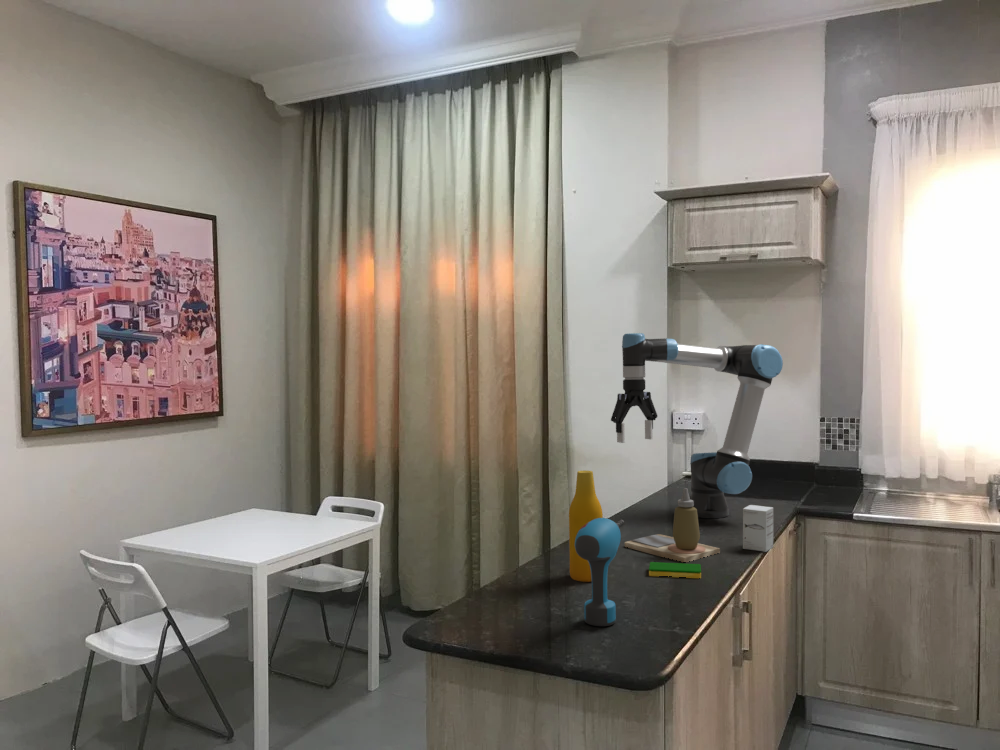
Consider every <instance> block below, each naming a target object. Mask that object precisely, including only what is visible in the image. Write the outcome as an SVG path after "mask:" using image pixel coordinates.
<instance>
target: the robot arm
mask: <svg viewBox="0 0 1000 750" xmlns="http://www.w3.org/2000/svg"><path fill="white" fill-rule="evenodd" d="M621 344H622V345H621V350H622V378H624V379H623V380H622V389H623V390H624V393H617V398H616V403H615V406H614V409H613V412H612V415H611V417H610V421H611V422H613V423H615V433H616V441H617V443H620V444H624V443H626V442H625V423H624V421H625V418H626V416H627V415H628V413H629V411H630V409H631V408H633V407H638V408H639V409H640V411H641V413H642V414H643V415H644V417H645V420H644V439H645V440H653V429H654V421H656V419H658V413H657V411H656V408H655V405H654V402H653V400H652V395H651V394H652V393H651V392H650V391H645V390H646V380H645V379H644V378H646V362H647V361H648V362H658V363H665V364H674V365H682V366H692V367H700V368H711V369H714V370H715V371H716V372H720V373H726V374H731V375H734V376H737V379H738V381H739V386H738V387H739V388H738V391H737V394H736V397H735V401H734V405H733V409H732V412H731V415H730V419H729V423H728V427H727V430H726V434H725V438H724V440H723V441H724V442H723V444H722V447H721V448H719V449H718V450H716V451H715V452H714V451H711V452H697V453H692V455H691V456H690V458H691V459H690V464H689V465H690V479H691V480H690V483H691V485H690V486H691V489H690V491H691V492H690V495H689V497H690V500H693V501H694V506H693V507H695V508H696V509H697V515H698V518H699V519H700V518H701V519H719V518H721V519H722V518H726V517H729V515H730V514H729V513H730V508H729V507H728V503H727V499H726V497H725V494H729V495H730V494H731V495H738V494H741V493H743V492H745V491H746V490H747V489H748V488H749V487H750V485H751V483H752V480H753V473H752V469H751V468H750V466H749V465H750V462H751V458H750V457H749V455H748V452H749V449H750V446H751V441H752V437H753V435H754V434H753V433H754V431H755V427H756V424H757V423H756V422H757V419H758V417H759V412H760V408H761V405H762V401H763V399H764V393H765V390H766V389H768V388H770V387H771V384H772V381H773V379H774V378H776V377H777V376H778V375H779V374H780V373H781V372H782V370H783V364H784V362H783V357H782V355H781V354H780V352H779V350H778V349H777V348H776V347H774V346H773V345H769V344H763V343H761V344H741V345H735V346H734V345H733V346H728V345H727V346H726V345H718V346H717V347H711V346H703V345H702V346H701V345H692V344H685V343H678V342H677V341H676V339H674V338H667V337H665V338H646V336H645V334H644V333H642V332H641V333H640V332H639V333H638V332H637V333H635V332H633V333H625V334H623V335H622V342H621Z"/></svg>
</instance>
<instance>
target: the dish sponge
mask: <svg viewBox="0 0 1000 750" xmlns="http://www.w3.org/2000/svg"><path fill="white" fill-rule="evenodd" d="M648 566H649V567H648V576H649V577H659V576H668V577H667V578H670V577H669V576H672V577H671V578H679V577H686V578H685V579H699V578H700V579H702V567H701V566H702V564H700V563H687V562H686V563H683V562H660V561H659V562H658V561H650V562H649V565H648Z"/></svg>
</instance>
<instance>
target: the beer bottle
mask: <svg viewBox="0 0 1000 750" xmlns="http://www.w3.org/2000/svg"><path fill="white" fill-rule="evenodd" d="M575 483H576V485H575V492H574V496H573V498H572V501H571V502H570V505H569V509H568V510H569V511H568V526H569V527H568V530H569V531H568V532H569V533H568V534H569V535H568V536H569V538H568V539H569V547H568V548H569V576H570V578H571V579H572V580H574V581H577V582H581V583H582V582H583V583H589V582H591V583H592V578H591V569H590V564H589V562H588V560H585V559H583V558H581V557H580V556H579V555H578V554H577V552H576V549H575V539H576V535H577V533H578V531H579V530H580V529H581V527H583V526H584V525H585V524H587V523H588V522H590V521H592V520H594V519H597V518H604V516H603V508H602V505H601V503H600V501H599V499H598V496H597V494H596V488H595V480H594V472H593V471H592V470H578V471H577V472H576V482H575Z"/></svg>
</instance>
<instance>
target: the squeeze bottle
mask: <svg viewBox="0 0 1000 750" xmlns="http://www.w3.org/2000/svg"><path fill="white" fill-rule="evenodd" d="M693 506H694V501H693V500H690V494H689V490H688V488H686V487H683V489H682V495H681V498H680V499H678V500H677V506H676V507H675V508H674V513H673V514H674V515H673V526H672V537H673V538H674V541H675V544H676V547H677V548H679V549H683V550H692V549H696V548H697V545H698V543H699V541H700V538H701V533H700V526H699V517H698V515H697V509H696V508H695V507H693Z"/></svg>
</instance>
